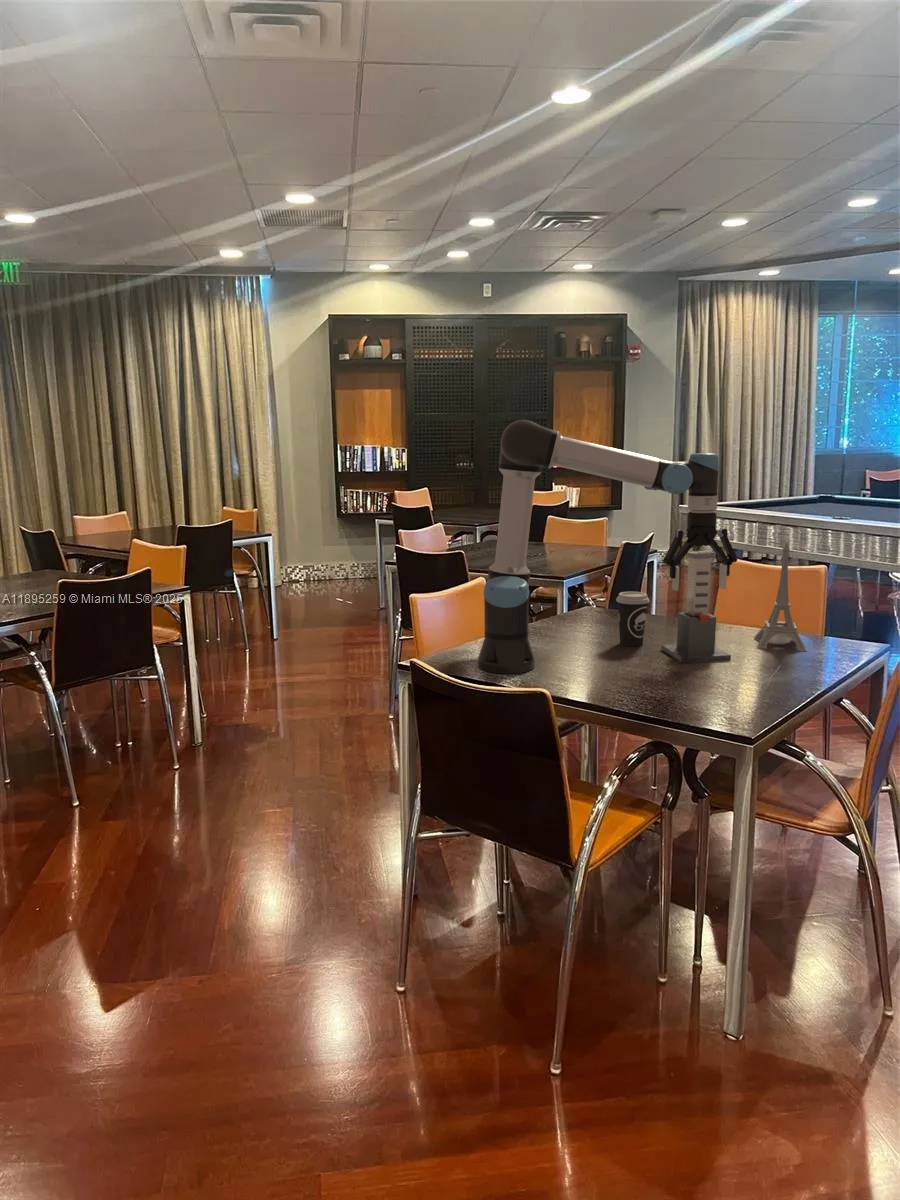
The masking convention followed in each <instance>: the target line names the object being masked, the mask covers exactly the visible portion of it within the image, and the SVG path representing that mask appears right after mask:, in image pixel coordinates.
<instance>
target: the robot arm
mask: <svg viewBox="0 0 900 1200" xmlns="http://www.w3.org/2000/svg"><path fill="white" fill-rule="evenodd" d="M500 437H501V438H500V452H499V461H498V470H499V472H500V473H501V474H502V476H503V478H502V479H503V480H502V486H501V487H502V489H501V497H500V498H501V499H500V508H499V519H498V529H497V539H496V548H495V557H494V558H495V560H494V562H493V563H492V564H491V565H490V566H489V567H488V573H487V574H488V575H487V581H486V582H485V583H484V589H483V598H484V600H483V601H484V607H483V608H484V610H483V611H484V617H483V618H484V637H483V642H482V645H481V647H480V648H481V649H480V652H479V653H478V656H477V657H478V658H477V667H478V668H479V669H480V670H482V671H485V672H488V673H494V674H506V675H509V674H511V675H512V674H520V673H521V674H523V673H526V672H529V671H532V670H533V669H535V665H536V664H535V663H536V661H535V658H536V657H535V656H534V653H533V648H532V646H531V644H530V640H529V607H530V606H529V601H530V600H529V597H530V589H529V588H530V582H531V581H530V578H531V570H530V569H529V568H528V567H527V555H528V547H529V537H530V528H531V519H532V518H531V517H532V510H533V509H532V508H533V501H534V491H535V484H536V483H535V481H536V478H537V477H538V476H540V475H541V474H542V468H546V469H551V468H553V467H559V468H564V469H568V470H572V471H577V472H580V473H581V472H582V473H585V474H590V475H594V476H599V477H603V478H606V479H612V480H616V481H620V482H624V483H629V484H632V485H637V486H641V487H644V489H645V490H649V491H651V490H652V491H661V492H662V491H663V492H667V493H669V494H673V495H679V494H684V493H686V492H687V491H688V493H687V494H688V496H687V498H688V499H687V510H688V512H687V515H686V516H687V521H686V524H687V528H686V530H681V529H676V530H675V533H674V538H673V540H672V542H671V544H670V545H669V549H667V552H666V554H665V556H664V558H663V560H662V563H663V564H664V565H667V566H669V571H668V573H669V575H668V576H669V578H670V579H671V580H672V581H671V590H673V591H675V592H679V589H680V588H679V586H680V566H678V565H679V563H680V562H681V561H682V560H683V559H684V558H685V557H686V556H685V555H686V554H687V552H688V551H691V549H693V548H694V546H695V547H702V546H704V547H708V546H709V547H710V548H711V549H712V550H713V553H714V554H715V555H717V557H718V559H719V560H720V561H721V562H722V563H720V564H719V575H718V578H719V579H718V587H719V588H720V589H723V590H726V589H727V577H729V576H730V570H731V569H730V567H731V566H732V564H733V563H736V562H738V558H737V555H736V553H735V551H734V549H733V547H732V544H731V542H730V540H729V539H730V538H729V537H728V530H727V529H728V528H723V527H720V528H719V529H717V528H716V526H717V516H718V515H717V512H716V511H717V509H718V488H719V473H720V469H719V468H720V466H719V465H720V461H719V460H720V458H719V455H718V454H717V453H714V452H711V453H710V452H709V453H707V452H705V453H704V452H702V453H701V452H700V453H699V452H698V453H697V452H696V453H694V452H693V453H691V454H690V455H689V459H688V460H684V461H679V460H678V461H672V460H671V461H670V460H666V459H661V458H657V457H653V456H649V455H645V454H642V453H641V454H640V453H636V452H633V451H629V450H623V449H619V448H615V447H610V446H605V445H601V444H597V443H593V442H589V441H585V440H584V441H583V440H580V439H575V438H571V437H566V436H563V435H562V434H561V433H560V431H558V430H555V429H551V428H548V427H545V426H542V425H540V424H538V423H536V422H534V421H531V420H527V419H519V420H515V421H513V422H511V423H510V424H509V425H507V426H506V428H504V430H503V432H502V434H501V436H500ZM685 536H686V537H687V539H686V540H685V541H684V543H683V545H682V547H681V548H680V549H679V547H680V545H681V543H682V541H683V539H685ZM715 537H719V539H720V542H721V544H722V546H723V549H724V551H725V552H724V551H723V549H722V548H721V547H720V546H719V545H718V543H717V541H716V540H715ZM678 549H679V550H678Z"/></svg>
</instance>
